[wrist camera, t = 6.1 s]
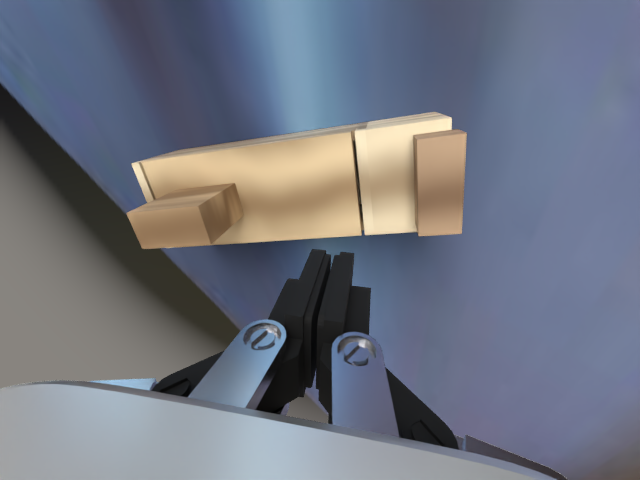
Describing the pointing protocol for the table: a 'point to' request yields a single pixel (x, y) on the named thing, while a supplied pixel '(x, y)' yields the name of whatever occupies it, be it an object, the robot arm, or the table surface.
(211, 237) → the lid
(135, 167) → the light wooden long piece
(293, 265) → the table surface
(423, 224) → the brown wooden block
